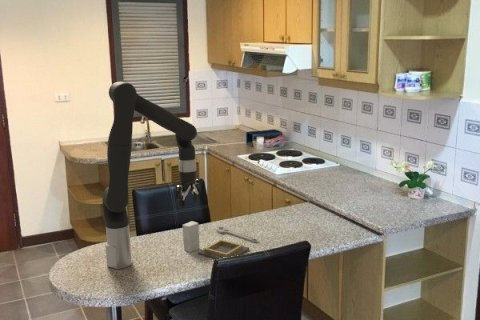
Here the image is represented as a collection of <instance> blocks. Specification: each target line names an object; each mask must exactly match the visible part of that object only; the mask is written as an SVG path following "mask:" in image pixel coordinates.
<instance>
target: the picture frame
mask: <svg viewBox="0 0 480 320" xmlns="http://www.w3.org/2000/svg"><path fill="white" fill-rule="evenodd" d="M249 251H250V247H248V246H244V245H243V244H240V243H236V242H232V241H228V240H224V239H219V240H217V241H216V242H214V243H212V244H210V245H208V246H206V247H205V248H203V249H202V250H200V251H199V250H198V252H197V255H198V256H202V257H205V258H209V259H213V260H216V259H219V258H223V257H231V256H237V255H240V256H241V255H243V254H245V253H247V252H249Z"/></svg>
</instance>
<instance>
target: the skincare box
mask: <svg viewBox="0 0 480 320" xmlns="http://www.w3.org/2000/svg"><path fill="white" fill-rule="evenodd" d="M199 228H200V227H199V222H196V221H193V220H191V221H189V222H186V223H184V224H182V236H183V237H182V239H183V250H184V251H185V252H189V253H192V252H194V251H196V250H198V249H200V232H199V230H200V229H199Z"/></svg>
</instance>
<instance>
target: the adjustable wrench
mask: <svg viewBox="0 0 480 320" xmlns="http://www.w3.org/2000/svg"><path fill="white" fill-rule="evenodd" d="M221 229H222V230H221ZM215 232H216V233H217V234H219V235H230V236H233V237H235V238H238V239H241V240H244V241H247V242H250V243H255V244H257V243H258V239H257V238H255V237H252V236H249V235H247V234H243V233H241V232H236V231H234V230H231V229H230V228H229V227H228V226H224V225H223V226H222V225H220V226H218V228H216V229H215Z"/></svg>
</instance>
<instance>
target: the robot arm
mask: <svg viewBox="0 0 480 320" xmlns="http://www.w3.org/2000/svg"><path fill="white" fill-rule="evenodd" d="M136 89H137V88H136V87H135V86H134V85H132V84H131V83H129V82H126V81H116V82H114V83H112V84H111V85H110V86H109V88H108V96H109V99H110V100H111V101H112V102H113V103H114V117H113V118H114V119H113V121H112V122H113V123H112V125H111V128H110V131H109V133H108V134H109V135H108V140H107V151H106V154H107V155H106V156H107V157H106V158H107V167H108V173H109V175H108V176H109V179H108V180H109V181H108V187H106V188H105V190H103V192H102V201H101V202H102V208H103V209H102V210H103V218H104V223H105V233H106V243H107V244H105V256H106V257H105V258H106V266H107V267H109V268H111V269H114V270H120V269H125V268H128V267H129V266H131V265H132V264H133V263H132V249H131V237H130V233H131V231H130V223H129V222H130V221H129V219H130V218H129V215H128V212H127V207H128V205H129V200H130V199H129V198H130V197H129V196H130V195H129V174H130V173H129V172H130V166H131V156H132V148H133V147H132V145H133V127H134V124H133V123H134V114H135V112H137V113H139V114H140V115H142V116H143V117H145V118H146V119H149V121H151V122H153V123H155V124H156V125H158V126H159V127H161V128H163V129H165V130H167V131H169V132H172V133H174V134H175V140H176V144H177V148H178V178H179V181H180V184H177V185H175V199H176V200H179V201H178V202H179V208H180V209H186V200H185V198H186V196H188V194H189V193H192V203H193V204H198V202H199V199H198V197H199V193H201V192H202V186H201V179H200V178H198V177H197V175H198V174H197V160H196V148H195V146H194V145H193V143H192V141H193V140H194V139H195V138H196V137H197V135H198V132H197V131H198V129H197V128H196V126H195V125H193V124H192V123H190V122H189V121H186V120H184V119H182V118H180V117H178V116H177V115H176V114H174V113H172V112H171V111H169V110H167V109H166V108H164V107H163V106H160V105H158V104H157V103H154V102H152V101H150V100H148V99H146V98H144V97H143V96H141V95H139V93H138V92H137V90H136Z"/></svg>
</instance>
